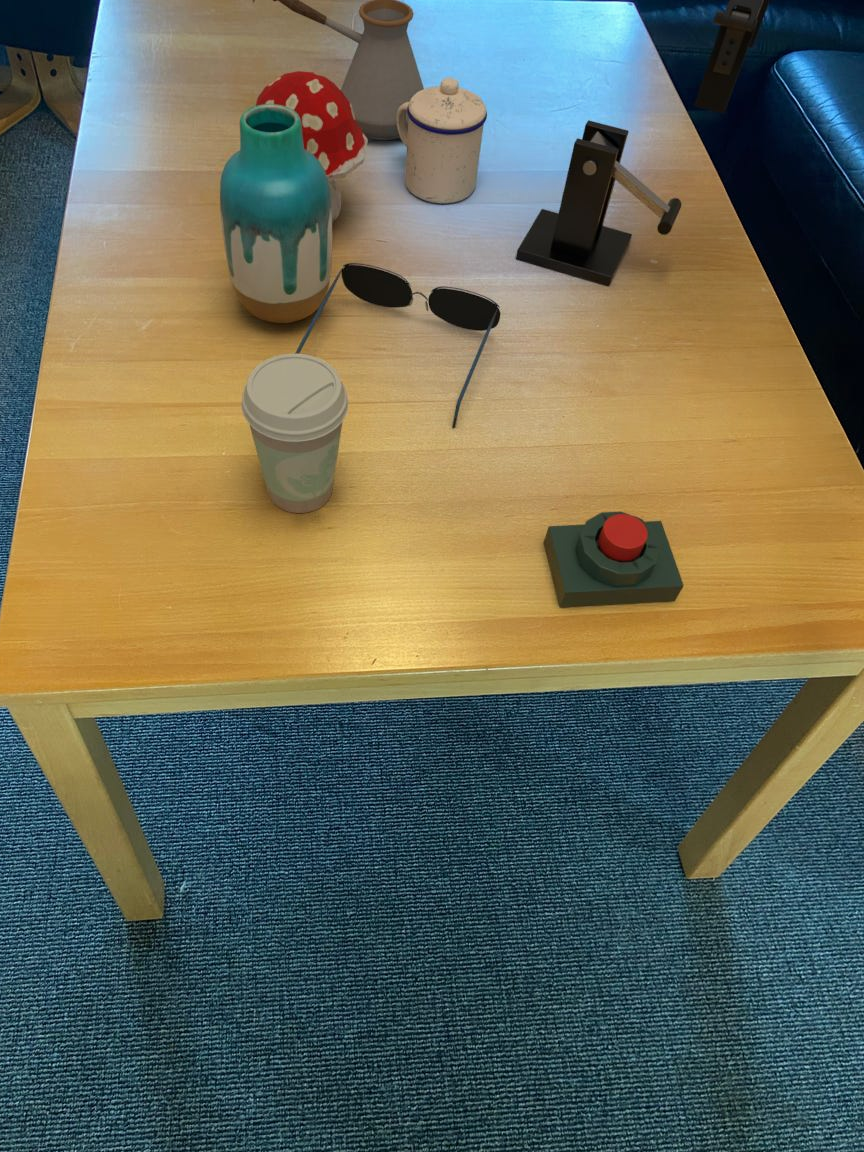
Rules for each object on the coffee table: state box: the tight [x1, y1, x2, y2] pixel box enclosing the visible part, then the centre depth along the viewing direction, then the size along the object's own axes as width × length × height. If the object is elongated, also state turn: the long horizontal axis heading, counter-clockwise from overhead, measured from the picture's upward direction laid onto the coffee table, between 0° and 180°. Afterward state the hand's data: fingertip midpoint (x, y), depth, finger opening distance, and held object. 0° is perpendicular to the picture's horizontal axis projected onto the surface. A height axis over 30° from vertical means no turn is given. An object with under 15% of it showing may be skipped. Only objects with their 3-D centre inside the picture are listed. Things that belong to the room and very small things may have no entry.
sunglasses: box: [295, 262, 501, 429], centre depth 86 cm, size 17×15×5 cm
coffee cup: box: [241, 352, 349, 514], centre depth 72 cm, size 8×8×12 cm
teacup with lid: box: [396, 77, 488, 204], centre depth 100 cm, size 12×9×12 cm
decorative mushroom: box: [254, 70, 369, 224], centre depth 93 cm, size 14×14×15 cm
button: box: [598, 514, 648, 561], centre depth 70 cm, size 4×4×2 cm
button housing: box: [543, 511, 685, 608], centre depth 72 cm, size 10×7×4 cm
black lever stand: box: [515, 120, 633, 287], centre depth 93 cm, size 11×9×13 cm
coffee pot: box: [252, 0, 425, 141], centre depth 105 cm, size 21×12×15 cm, turn 89°
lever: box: [590, 131, 682, 236], centre depth 90 cm, size 12×5×2 cm, turn 66°
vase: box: [219, 104, 333, 324], centre depth 83 cm, size 11×11×19 cm
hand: (724, 74), depth 79 cm, fingers open, 13 cm apart
